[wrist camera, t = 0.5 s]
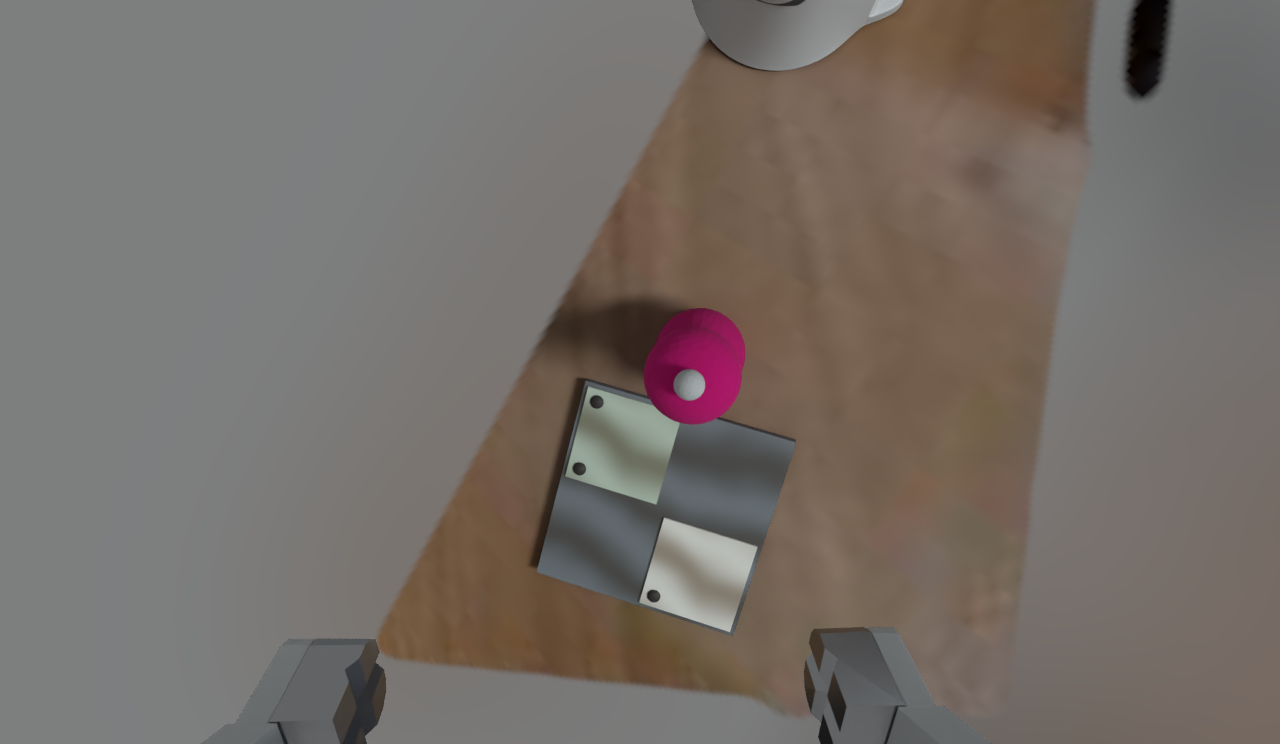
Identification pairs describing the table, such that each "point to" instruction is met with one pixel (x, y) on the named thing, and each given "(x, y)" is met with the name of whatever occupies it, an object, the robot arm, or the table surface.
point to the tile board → (663, 507)
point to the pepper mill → (695, 366)
